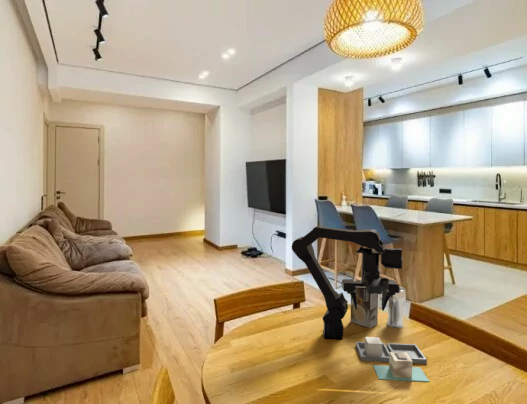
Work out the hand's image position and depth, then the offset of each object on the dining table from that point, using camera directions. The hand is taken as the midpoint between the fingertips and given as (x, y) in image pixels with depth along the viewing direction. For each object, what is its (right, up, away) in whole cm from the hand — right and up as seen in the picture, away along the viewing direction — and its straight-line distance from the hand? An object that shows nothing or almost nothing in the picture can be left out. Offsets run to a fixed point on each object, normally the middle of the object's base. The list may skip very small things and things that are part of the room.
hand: (369, 309), depth 119 cm
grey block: (-1, -12, -7) cm, 14 cm away
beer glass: (+15, -11, +16) cm, 25 cm away
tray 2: (+10, -13, -8) cm, 18 cm away
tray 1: (-1, -13, -7) cm, 14 cm away
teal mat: (+3, -13, -18) cm, 23 cm away
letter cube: (+3, -13, -18) cm, 23 cm away
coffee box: (+3, -11, +18) cm, 21 cm away
